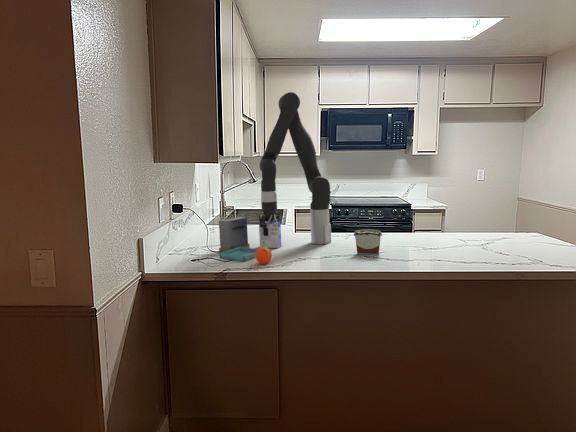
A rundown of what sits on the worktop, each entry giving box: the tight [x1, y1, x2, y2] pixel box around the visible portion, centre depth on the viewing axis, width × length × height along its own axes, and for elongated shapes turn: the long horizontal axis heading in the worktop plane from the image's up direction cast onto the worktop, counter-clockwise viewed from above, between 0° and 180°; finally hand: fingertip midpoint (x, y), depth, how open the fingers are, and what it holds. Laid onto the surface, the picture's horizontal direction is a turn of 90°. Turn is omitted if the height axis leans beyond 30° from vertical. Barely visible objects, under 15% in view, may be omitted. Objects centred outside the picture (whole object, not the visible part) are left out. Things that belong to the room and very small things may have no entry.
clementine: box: [254, 247, 273, 265], centre depth 168 cm, size 8×7×7 cm
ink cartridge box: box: [258, 219, 282, 249], centre depth 199 cm, size 10×6×14 cm, turn 78°
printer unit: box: [218, 216, 251, 253], centre depth 195 cm, size 7×14×15 cm, turn 145°
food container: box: [353, 228, 383, 256], centre depth 181 cm, size 12×6×10 cm, turn 71°
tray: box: [219, 247, 259, 262], centre depth 183 cm, size 14×14×2 cm
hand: (270, 234), depth 199 cm, fingers closed on ink cartridge box, 6 cm apart
